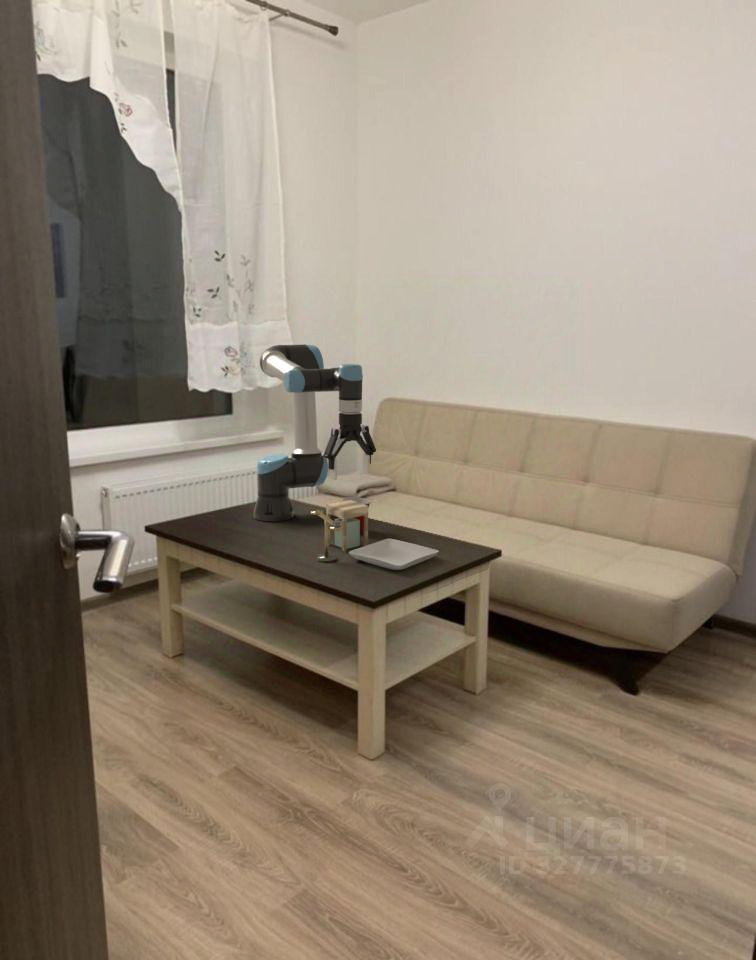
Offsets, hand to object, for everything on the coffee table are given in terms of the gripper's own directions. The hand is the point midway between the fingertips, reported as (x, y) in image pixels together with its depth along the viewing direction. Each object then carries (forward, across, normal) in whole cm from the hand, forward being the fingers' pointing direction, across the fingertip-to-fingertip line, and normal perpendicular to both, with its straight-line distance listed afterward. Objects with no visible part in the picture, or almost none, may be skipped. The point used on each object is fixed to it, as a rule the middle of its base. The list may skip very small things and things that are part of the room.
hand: (350, 476), depth 249 cm
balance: (+24, -15, -8) cm, 29 cm away
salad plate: (+24, +2, -21) cm, 32 cm away
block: (+24, -1, 0) cm, 24 cm away
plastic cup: (+24, +11, +11) cm, 29 cm away
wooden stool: (+24, -1, 0) cm, 24 cm away
